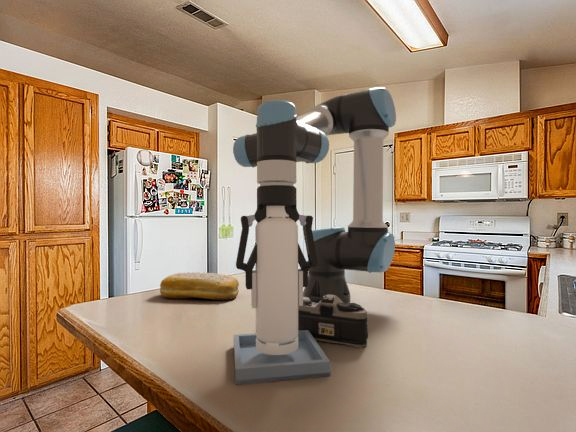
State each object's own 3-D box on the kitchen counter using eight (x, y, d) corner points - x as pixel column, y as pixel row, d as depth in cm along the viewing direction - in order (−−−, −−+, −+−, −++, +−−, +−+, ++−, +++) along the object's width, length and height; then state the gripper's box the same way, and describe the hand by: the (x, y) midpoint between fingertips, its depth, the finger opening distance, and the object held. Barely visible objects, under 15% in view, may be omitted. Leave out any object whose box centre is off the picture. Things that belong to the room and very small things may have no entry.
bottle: (294, 356, 60) (293, 198, 59) (250, 353, 61) (249, 198, 61) (301, 340, 68) (301, 199, 67) (262, 337, 69) (262, 200, 69)
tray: (308, 341, 74) (308, 329, 74) (330, 375, 58) (330, 361, 58) (233, 346, 71) (233, 334, 71) (235, 384, 55) (235, 369, 55)
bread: (171, 291, 122) (171, 269, 122) (243, 293, 120) (243, 270, 120) (152, 301, 109) (152, 276, 109) (233, 303, 106) (233, 278, 106)
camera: (373, 334, 78) (373, 291, 78) (364, 351, 69) (364, 302, 69) (309, 325, 84) (309, 285, 84) (293, 340, 75) (293, 294, 75)
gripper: (324, 187, 70) (324, 297, 70) (221, 186, 66) (221, 302, 66) (335, 184, 62) (335, 307, 63) (220, 183, 59) (220, 313, 59)
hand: (277, 304), depth 64 cm, fingers closed on bottle, 8 cm apart
